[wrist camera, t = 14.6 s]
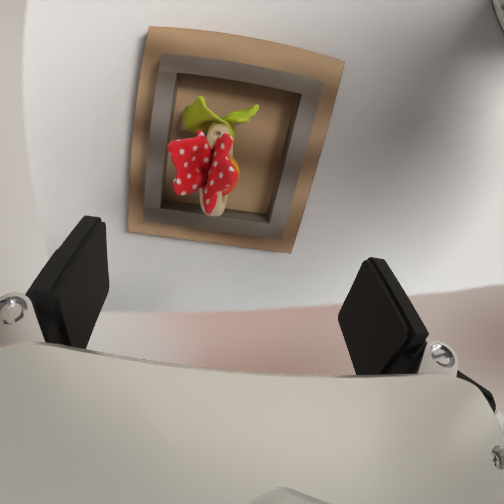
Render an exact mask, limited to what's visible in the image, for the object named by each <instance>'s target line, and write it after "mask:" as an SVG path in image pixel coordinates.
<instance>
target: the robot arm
mask: <svg viewBox="0 0 504 504" xmlns="http://www.w3.org/2000/svg"><path fill="white" fill-rule="evenodd" d="M493 4H494V7H495V11H496V14H497V17H498V19H499V22H500V24H501V26H502V28H503V30H504V0H493ZM108 291H109V274H108V260H107V243H106V224H105V222H101V218H100V217H93V216H84V217H83V218H82V219H81V220H80V222H79V223H78V224H77V225H76V227H75V228H74V229H73V231H72V232H71V233H70V234H69V236H68V237H67V238H66V240H65V241H64V242H63V244H62V245H61V246H60V248H59V249H57V250H56V251H55V252H54V254H53V255H52V256H51V258H50V259H49V261H48V262H47V263H46V265H45V266H44V268H43V269H42V271H41V272H40V274H39V275H38V276H37V278H36V279H35V281H34V282H33V284H32V285H31V287H30V288H29V290H28V291H27V293H26V294H25V295H24V294H21V293H10V294H6V295H4V296H2V297H0V504H504V416H503V414H502V413H501V412H500V411H499V410H498V411H497V412H495V410H496V405H495V401H494V398H493V396H492V394H491V393H490V392H489V391H488V390H486V389H485V388H483V387H482V386H480V385H479V384H478V383H476V382H474V381H473V380H472V379H470V378H469V377H467V376H466V375H464V374H463V373H461V372H460V371H458V358H457V355H456V354H455V352H454V351H453V350H452V349H451V348H450V347H449V346H448V345H447V344H445V343H443V342H441V341H437V340H432V341H430V342H428V343H427V342H426V340H425V339H426V338H427V337H428V335H429V333H428V331H427V329H426V327H425V326H424V324H423V322H422V320H421V319H420V317H419V315H418V313H417V312H416V310H415V308H414V307H413V305H412V303H411V301H410V300H409V298H408V296H407V295H406V293H405V291H404V290H403V288H402V287H401V285H400V283H399V282H398V280H397V278H396V277H395V275H394V274H393V272H392V271H391V269H390V267H389V266H388V264H387V263H386V261H385V260H384V259H379V258H373V257H370V258H368V259H367V260H365V261H364V262H363V263H362V265H361V267H360V269H359V272H358V274H357V276H356V278H355V280H354V283H353V285H352V287H351V289H350V291H349V293H348V295H347V297H346V299H345V301H344V304H343V306H342V308H341V310H340V312H339V315H338V321H339V325H340V327H341V330H342V333H343V336H344V339H345V342H346V345H347V348H348V351H349V354H350V357H351V360H352V363H353V366H354V369H355V372H356V375H301V374H300V375H299V374H277V373H260V372H246V371H233V370H223V369H212V368H202V367H194V366H186V365H178V364H170V363H163V362H157V361H150V360H144V359H138V358H132V357H126V356H119V355H114V354H108V353H103V352H97V351H92V350H87V349H86V347H87V344H88V342H89V339H90V336H91V333H92V331H93V328H94V326H95V323H96V321H97V318H98V316H99V313H100V311H101V309H102V306H103V304H104V301H105V299H106V297H107V294H108Z"/></svg>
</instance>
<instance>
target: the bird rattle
mask: <svg viewBox="0 0 504 504" xmlns="http://www.w3.org/2000/svg"><path fill="white" fill-rule="evenodd" d="M258 109H259V105H254V106H252V107H251V108H246V109H242V110H239V111H234V112H231V113H229V114H227V115H225V116H224V117H223V118H220V117H219V116H217V115H216V114H215V113H213V112H212V111H211V110H210V109H208V108H207V107H206V104H205V98H204V97H202V96H198V97H197V98H196V99H195V100H194V102H193V104H192V105H187V106H186V107H185V109H184V111H183V122H184V124H185V126H186V129H187V130H188V131H190V132H194V133H195V138H189V139H181V140H175V141H171V142H170V143H169V144H168V145H167V150H168V152H169V155H170V157H171V159H172V162H173V164H174V166H175V168H176V171H177V172H176V177H175V179H174V182H173V190H174V192H175V193H176V194H177V195H187V194H190V193H192V192H194V191H196V190H197V189H199V193H200V203H201V207H202V210H203V212H204V213H205V214H206V215H208V216H220V215H221V214H222V213H223V211H224V209H225V206H226V202H227V197H228V194H229V193H230V192H231V191H232V190H233V189H234V188H235V187H236V185H237V183H238V179H239V167H238V164H237V162H236V161H235V159H234V158H233V142H234V137H235V131H234V129H233V127H232V125H233V124H235V123H248V122H249V121H250V118H251V117H252V116H253V115H255V114H256V112H257V111H258ZM207 131H208V133H207V136H206V137H205V135H204V133H205V132H207Z"/></svg>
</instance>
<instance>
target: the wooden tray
mask: <svg viewBox="0 0 504 504" xmlns="http://www.w3.org/2000/svg"><path fill="white" fill-rule="evenodd" d="M344 64H345V62H344V61H341V60H338V59H335V58H332V57H328V56H325V55H322V54H318V53H315V52H311V51H307V50H304V49H300V48H296V47H292V46H288V45H284V44H279V43H275V42H270V41H266V40H261V39H256V38H251V37H245V36H239V35H233V34H227V33H220V32H212V31H204V30H195V29H185V28H172V27H154V26H149V28H148V33H147V38H146V43H145V49H144V54H143V60H142V66H141V73H140V79H139V86H138V93H137V101H136V109H135V118H134V127H133V138H132V149H131V163H130V179H129V203H128V232H135V233H143V234H150V235H158V236H165V237H173V238H180V239H187V240H195V241H202V242H209V243H217V244H224V245H231V246H239V247H246V248H253V249H261V250H268V251H275V252H282V253H290V254H291V252H292V249H293V245H294V242H295V239H296V236H297V232H298V229H299V226H300V222H301V219H302V216H303V213H304V209H305V206H306V202H307V199H308V196H309V192H310V189H311V185H312V182H313V179H314V175H315V172H316V168H317V165H318V161H319V158H320V154H321V150H322V147H323V143H324V140H325V136H326V132H327V129H328V125H329V121H330V118H331V114H332V110H333V106H334V103H335V99H336V95H337V91H338V87H339V84H340V80H341V76H342V72H343V68H344ZM198 96H202V97H204V98H205V104H206V107H207V108H208V109H210V110H211V111H212V112H213V113H215V114H216V115H217V116H219V117H220V118H223V117H224V116H225V115H227V114H229V113H231V112H234V111H239V110H242V109H246V108H251V107H252V106H254V105H259V109H258V111H257V112H256V114H255V115H253V116H252V117H251V118H250V121H249V122H248V123H235V124H233V125H232V127H233V129H234V131H235V137H234V142H233V158H234V159H235V161H236V162H237V164H238V167H239V179H238V183H237V185H236V187H235V188H234V189H233V190H232V191H231V192H230V193H229V194H228V197H227V202H226V206H225V209H224V211H223V213H222V214H221V215H220V216H208V215H206V214H205V213H204V212H203V210H202V207H201V203H200V193H199V189H197V190H196V191H194V192H192V193H190V194H187V195H177V194H176V193H175V192H174V190H173V182H174V179H175V177H176V172H177V171H176V168H175V166H174V164H173V162H172V159H171V157H170V155H169V152H168V150H167V145H168V144H169V143H170V142H171V141H175V140H181V139H189V138H195V133H194V132H190V131H188V130H187V129H186V126H185V124H184V122H183V111H184V109H185V107H186V106H187V105H192V104H193V102H194V100H195V99H196V98H197V97H198ZM207 133H208V131H207V132H205V133H204V135H205V137H206V136H207Z"/></svg>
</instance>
